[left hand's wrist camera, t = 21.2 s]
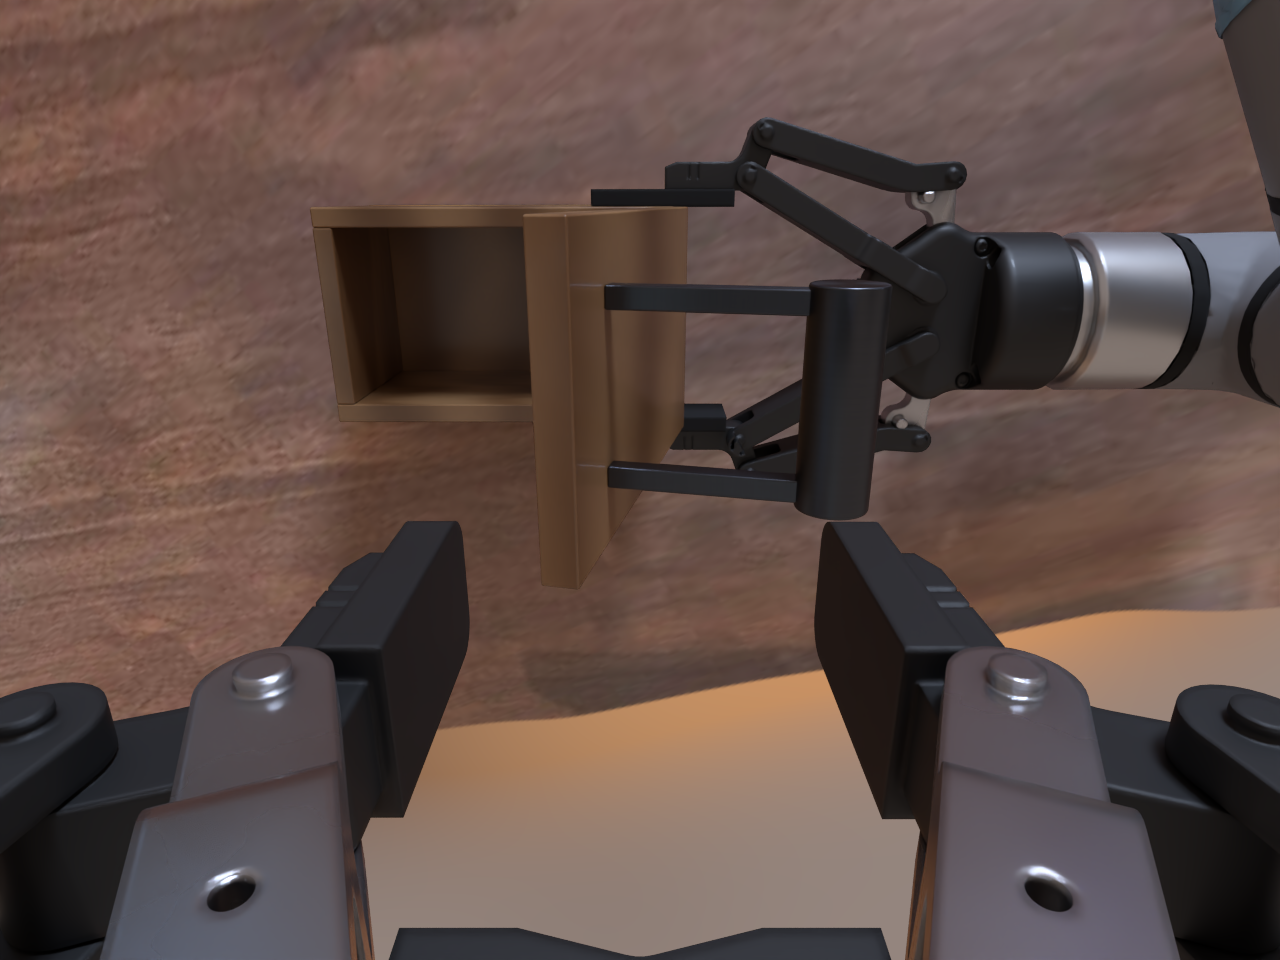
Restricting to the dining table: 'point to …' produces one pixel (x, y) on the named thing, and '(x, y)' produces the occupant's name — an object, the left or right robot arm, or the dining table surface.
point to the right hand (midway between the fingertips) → (595, 313)
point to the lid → (674, 379)
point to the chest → (428, 310)
